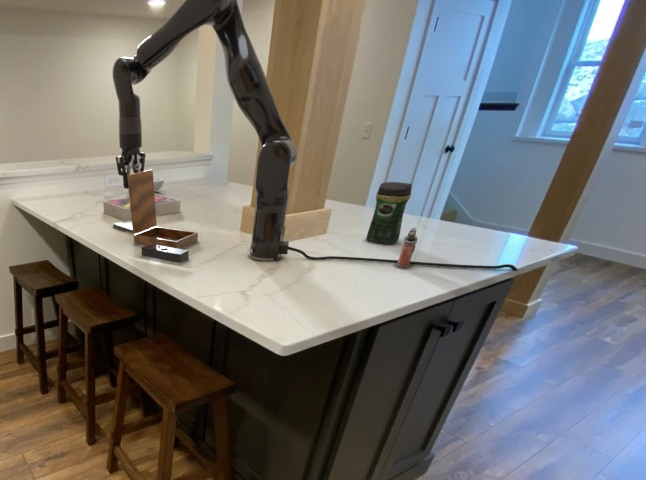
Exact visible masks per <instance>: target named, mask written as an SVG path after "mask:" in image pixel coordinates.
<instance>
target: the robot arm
mask: <svg viewBox="0 0 646 480" xmlns="http://www.w3.org/2000/svg"><path fill="white" fill-rule="evenodd" d="M244 23H245V22H244V20H243V17H242V14H241V10H240V6H239V3H238V0H184V2H183V3H182V4H181V5H180V6H179V7H178V8H177V10H176V11H174V13H173V14H172V15H171V16H170V17H169V18H168V19H167V20H166V21H165V22H164V23H163V24H162V25H161V26H160V27H159V28H158V29H156V30H155V31H154V32H152V34H150V35H149V36H148V37H147V38H145V39H144V40H143V41H142V42H141V43H140V44H139V45H138V47H137V49H136V55H134V56H133V57H127V56H122V57H118V58H117V59H116V60H115V62H114V63H113V67H112V81H113V85H114V86H113V87H114V89H115V94H116V97H117V102H118V137H119V139H118V141H119V149H121V153H120V155H119V156H118V155H117V156H115V163H116V168H117V174H118V175H119V176H121V177H122V184H123V185H122V186H123V188H124V189H127V190H129V188H128V178H127V175H129V174H131V170H132V173H138V172H142V171H145V165H146V152H141V151H140V149H141V148H142V147H143V144H142V143H143V141H142V138H143V136H142V134H143V133H142V117H141V98H140V96H139V95H138V94H136V93H135V92H134V89H133V86H135V85H138V84H140V83H141V82H143V81H144V80H145V79H146V78H147V76H148V75H149V74H150V73H151V72H152V70H153V69H154V68H156V67H157V66H158V65H159V64H160V63H162V62H163V61H164V60H166V58H168V57H169V56H170V55H171V54H172V53H173V52H174V51H175V49H176V48H177V47H178V45H179V44H180V42H181V41H182V40H183V39H184V38H185V37H187V36H188V35H189V34H190V33H192V32H193V31H195V30H197V29H199V28H201V27H203V26H205V25H206V26H211V27H212V29H213V31H214V32H215V34H216V36H217V38H218V41H219V43H220V45H221V48H222V52H223V57H224V67H225V68H224V69H225V76H226V81H227V83H228V87H229V88H230V91H231V94H232V96H233V98H234V100H235V103H236V104H237V107H238V108H239V109H240V111H241V113H242V114H243V115H244V117H245V118H246V119H247V120H248V122H249V123H250V124H251V126H252V127H253V128H254V130H255V132H256V134H257V137H258V139H259V141H260V146H261V149H260V150H259V153H258V157H257V163H256V171H255V172H256V174H255V193H256V195H255V196H256V197H255V205H254V212H253V213H254V215H253V222H252V233H251V240H250V241H251V242H250V247H249V249H248V250H249V258H250V259H252V260H256V261H259V262H260V261H261V262H272V261H273V262H274V261H275V262H277V261H279V259H280V258H281V257H282V255H288V253H289V251H292V252H296V253H299V254H301V255H302V256H303V257H304V258H306V259H308V260H313V261H322V260H323V261H324V260H345V261H361V262H363V261H364V262H375V263H376V262H378V263H388V264H389V263H391V264H397V261H398V260H397V259H385V258H373V257H370V258H369V257H357V256H356V257H355V256H353V257H352V256H339V255H338V256H334V255H328V256H327V255H326V256H318V257H317V256H309V255H308V254H307V253H306V252H305V251H303V250H301V249H298V248H295V247H291V246H289V245H290V242H289V241H288V240H287V241H286V240H284V239H285V233H286V226H287V225H286V224H285V223H286V216H287V208H288V202H289V197H290V196H289V195H290V190H289V176H290V170H291V168H293V166H294V165H295V163H296V160H297V156H298V155H297V154H298V152H297V146H296V143H295V142H294V140H293V138H292V136H291V135H290V133H289V131H288V129H287V127H286V125H285V123H284V122H283V120H282V117H281V115H280V112H279V110H278V107H277V104H276V101H275V97H274V95H273V91H272V90H271V86H270V84H269V81H268V79H267V76H266V74H265V71H264V69H263V66H262V64H261V61H260V59H259V57H258V54H257V52H256V50H255V48H254V46H253V43H252V40H251V38H250V36H249V34H248V31H247V30H246V27H245V24H244ZM410 265H415V266H416V265H417V266H428V267H444V268H459V269H460V268H461V269H483V270H484V269H487V270H498V269H504V268H509V269H511V270H512V271H516V272H517V271H518V268H517V267H516V266H515V265H513V264H509V263H508V264H507V263H506V264H500V265H479V264H475V265H474V264H454V263H441V262H439V263H437V262H423V261H412V260H410Z"/></svg>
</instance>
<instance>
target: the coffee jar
mask: <svg viewBox="0 0 646 480" xmlns="http://www.w3.org/2000/svg"><path fill="white" fill-rule="evenodd" d="M412 185H413V184H412V183H408V182H402V181H401V182H399V181H385V182H382V183H380V185H379V187H378V190H377V192H376V195H375V200H376V202H375V203H376V204H375V208H374V212H373V215H372V218H371V220H370V221H371V222H370V224H369V227H368V230H367V233H366V237H365V240H366V241H367V242H370V243H373V244H382V245H392V244H393V245H394V244H396V243H397V242H398V241H399V239H400V235H401V231H402V229H401V228H402V223H403V217H404V212H405V208H406V205H407V203H408V201H409V200H410V198H411V197H412V189H413V186H412Z"/></svg>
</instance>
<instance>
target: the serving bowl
mask: <svg viewBox="0 0 646 480" xmlns="http://www.w3.org/2000/svg"><path fill="white" fill-rule="evenodd" d="M164 181H165V178H164V177H161V176H155V175H153V182H154V193H156V192H158V191H159V190H161V189H162V187H163V185H164Z"/></svg>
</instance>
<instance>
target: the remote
mask: <svg viewBox="0 0 646 480" xmlns="http://www.w3.org/2000/svg"><path fill="white" fill-rule="evenodd" d="M189 252H190V251H189V250H188V249H184V248H182V249H177V248H171V247H165V246H160V245H154V244H149V245H147V246H145V245H143V246H142V247H141V256H142V257H146V258H152V259H156V260H162V261H168V262H172V263H178V264H181V263H183V262H185V261H187V260H189V255H190V253H189Z"/></svg>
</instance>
